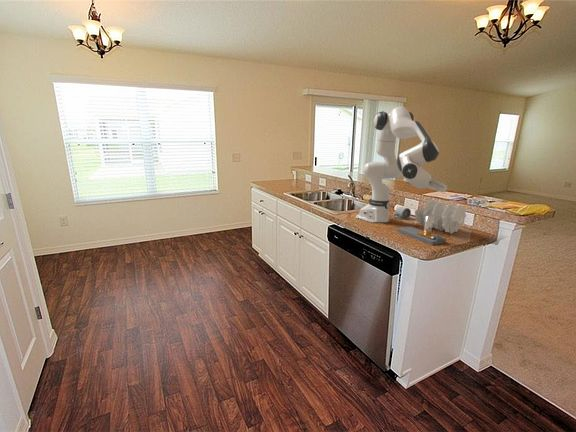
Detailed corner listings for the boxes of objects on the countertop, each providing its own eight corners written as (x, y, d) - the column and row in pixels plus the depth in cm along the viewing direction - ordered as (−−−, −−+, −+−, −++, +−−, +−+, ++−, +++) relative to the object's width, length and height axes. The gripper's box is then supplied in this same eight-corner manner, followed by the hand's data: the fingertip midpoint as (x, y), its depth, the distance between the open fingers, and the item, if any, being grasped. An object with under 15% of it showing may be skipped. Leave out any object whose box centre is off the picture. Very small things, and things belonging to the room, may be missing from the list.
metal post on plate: (416, 233, 165) (418, 214, 162) (423, 232, 167) (425, 213, 164) (432, 239, 156) (435, 219, 153) (439, 237, 158) (442, 218, 155)
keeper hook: (431, 238, 157) (432, 235, 157) (435, 237, 158) (436, 234, 158) (437, 240, 154) (437, 237, 154) (441, 239, 155) (441, 236, 155)
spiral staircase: (425, 229, 192) (463, 238, 171) (409, 221, 183) (447, 230, 162) (434, 203, 192) (474, 209, 171) (419, 194, 183) (459, 199, 162)
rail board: (397, 231, 175) (397, 228, 175) (409, 229, 179) (410, 226, 179) (432, 245, 153) (432, 241, 153) (445, 242, 157) (446, 239, 157)
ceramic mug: (401, 215, 210) (402, 205, 208) (410, 218, 203) (411, 207, 201) (390, 217, 206) (391, 206, 204) (398, 220, 199) (399, 209, 197)
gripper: (444, 179, 138) (452, 186, 148) (405, 168, 152) (415, 175, 162) (439, 191, 139) (447, 198, 149) (400, 179, 153) (410, 186, 163)
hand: (430, 186), depth 156 cm, fingers open, 8 cm apart
